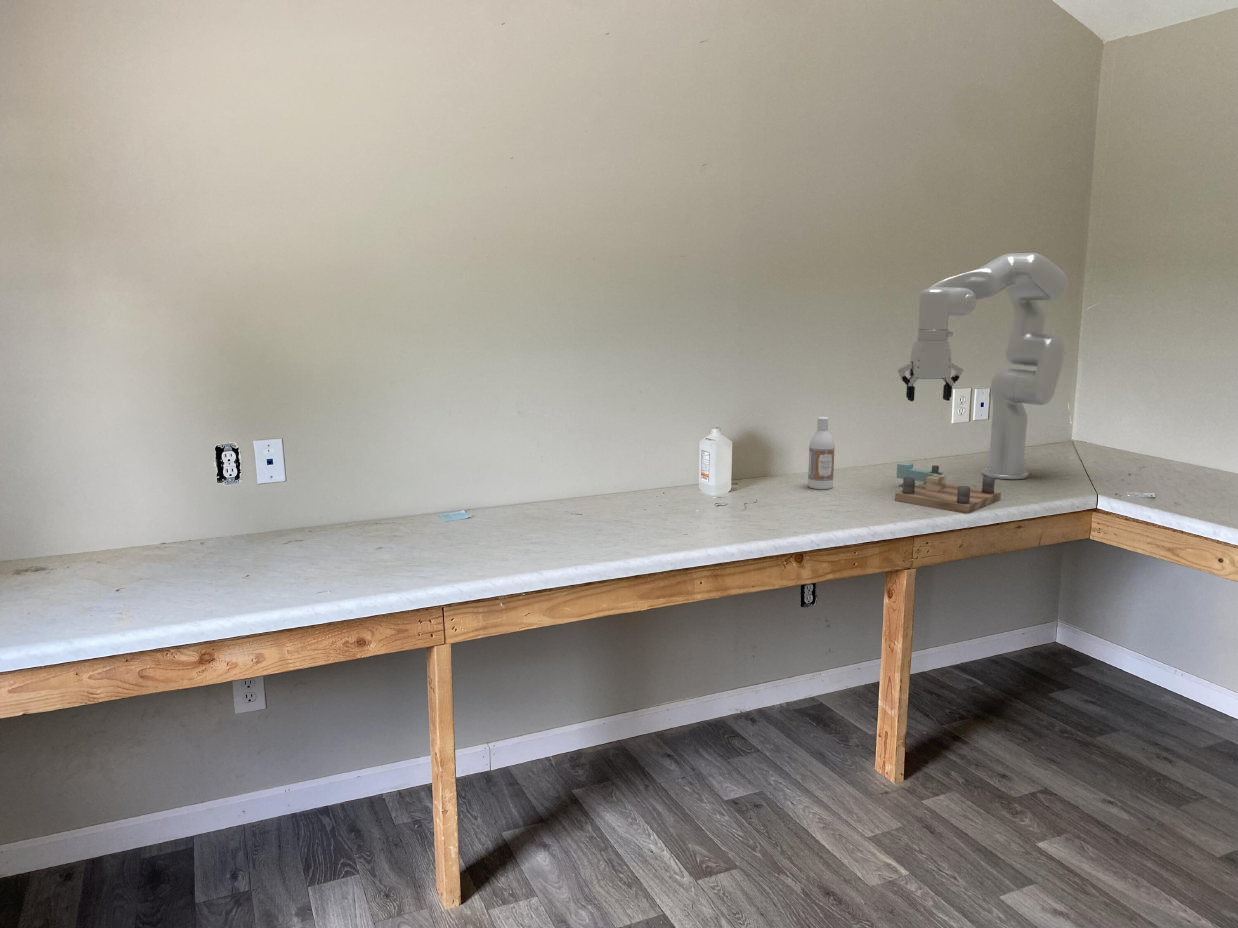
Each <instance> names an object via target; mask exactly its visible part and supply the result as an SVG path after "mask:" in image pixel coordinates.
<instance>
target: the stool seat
mask: <svg viewBox="0 0 1238 928" xmlns="http://www.w3.org/2000/svg"><path fill="white" fill-rule="evenodd" d="M939 470H940V465H933V464H932V465H931V471H932V473H933V474H935V475H932V476H929V477H927V480H926V482H922V483H920V484H917V485H916V481H915V478H912V477H904V478H903V479H902V490H901V491H898V492H895V494H894V501H895V502H902V503H907V504H912V505H918V506H923V507H929V508H934V509H940V510H946V511H949V512H950V511H951V512H952V511H953V512H957V513H961V514H971V513H973V512H975V511H977V510H979V509H982V508H984V507H987V506H988V505H991V504H993V503H996V502H998V501H1000V500H1001V498H1002V491H996V490H995V484H996V483H995V482H996V478H994V477H989V476H986V475H984V476H982V485H981V488H977V487H970V486H967V485H959V484H953V483H946V475H944V474H943V475H938V474H939V472H940V471H939Z"/></svg>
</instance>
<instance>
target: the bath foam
mask: <svg viewBox="0 0 1238 928" xmlns="http://www.w3.org/2000/svg"><path fill="white" fill-rule="evenodd" d="M816 426H817V430H816V431H815V432H814V434H813V435H812V437H811V439H810V442H809V446H808V447H809V448H808V473H807V474H808V475H807V476H808V477H807V486H808V487H809V488H810V489H815V490H830V489H832V488H833V487H834V472H835V471H834V470H835V442H834V438H833V437H832V436H833V435H832V434H830V432H829V430H828V429H829V417H826V416H818V417H817V424H816Z"/></svg>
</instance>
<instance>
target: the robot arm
mask: <svg viewBox="0 0 1238 928" xmlns="http://www.w3.org/2000/svg"><path fill="white" fill-rule="evenodd" d="M1068 287H1069V283H1068V277H1067V275H1066V274H1065V272H1064V271H1063V270H1062V269H1061V268H1060V267H1058V266H1057V265H1056V264H1055V263H1053V262H1052V261H1051V260H1050V259H1048V258H1047V257H1045V256H1044V255H1042V254H1040V253H1036V252H1023V253H1021V252H1020V253H1019V252H1018V253H1015V252H1014V253H1013V252H1012V253H1011V252H1010V253H1006V254H1002V255H1000V256H998V257H996V258H995V259H993V260H992V261H989V262H988V263H986V264H984V265H982V266H981V267H978V268H977V269H973V270H970V271H967V272H964V273H961V274H958V275H954V276H950V277H947V278H945V279H941V280H940V281H937V282H936V283H934V284H932V285H931V286H930V287H928V288H925V289H923V290H922V291H920V295H919V308H918V323H917V324H918V325H917V338H916V340H914V341H913V344H912V347H911V351H910V356H909V357H910V358H909V363H907V364H905V365H904V366H902V367H900V368H898V369H897V373H898V375H899V377H900V380H901V381H902V382H903V383H904V384H905V386H906V391H905V392H906V394H905V396H906V398H907V400H908V401H910V402H914V401H915V395H916V394H915V392H916V391H915V390H916V387H915V386H914V385H915V383H916V382H918V380H943V382H944V383H945V384H943V391H942V400H944V401H947V402H949V401H950V400H951V398H952V393H953V386H954V385H955V383H956V382H957V381H958V380H960V376H962V374H963V372H964V368H961V367H960V366H958V365H957V364H954V363H952V351H951V349H952V348H951V343H950V341H949V338H950V337H953V331H950V329H949V317H964V316H967V315H969V314H971V313H972V312H973V311H974V310H975V308H976V305H977V301H980V300H984V299H988V298H989V299H990V298H991V297H994V296H996V295H997V294H999V293H1000V292H1001V291H1003V290H1005V291H1006V293H1007V296H1008V297H1009V300H1010V302H1011V305H1012V309H1013V313H1014V314H1013V321H1012V326H1011V329H1010V333H1009V337H1008V341H1007V345H1006V348H1005V359H1006V360H1007V362H1008V363H1010V364H1012V365H1015V366H1022V367H1031V368H1032V367H1033V368H1036V370H1027V369H1019V368H1005V369H1001V370H999V371H996V373H994V375H993V376H992V378H991V382H990V391H991V398H992V417H991V418H992V419H991V420H992V421H991V430H990V431H991V432H990V442H989V443H990V444H989V445H990V446H989V456H988V457H989V458H988V467H985V468H984V469H982V474H983V475H984V476H989V477H994V478H995V479H1002V480H1021V479H1022V480H1023V479H1027V478H1028V477H1029V472H1028V471H1027V470H1025V469H1024V465H1025V464H1026V462H1027V461H1026V459H1025V452H1026V451H1025V450H1026V440H1027V439H1026V436H1027V427H1028V426H1027V425H1028V415H1027V411H1026V409H1025V407H1024V404H1025V405H1035V406H1044V405H1046V404H1048V403H1049V402H1051V400H1052V399H1053V397H1054V395H1055V393H1056V389H1057V385H1058V382H1059V378H1060V374H1061V370H1062V368H1063V363H1064V361H1065V360H1064V359H1065V352H1066V351H1065V350H1066V349H1065V344H1064V341H1063V340H1062V338H1061V337H1059V336H1058V335H1056V334H1050V333H1044V329H1045V326H1046V317H1047V316H1046V313H1045V311H1044V308H1043V307H1042V305H1041V304H1040V302H1039V301H1048V302H1049V301H1056V300H1059V299H1061V298H1063V297H1064V296H1065V294H1066V293H1067V290H1068ZM952 370H953V371H954V372H955V373H954V374H953V375H951V374H952ZM906 372H908V376H909V377H907V376H906Z"/></svg>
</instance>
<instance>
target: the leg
mask: <svg viewBox="0 0 1238 928" xmlns="http://www.w3.org/2000/svg"><path fill="white" fill-rule="evenodd" d="M932 475H935V474H933V473H932V470H929V469H928V470H926V469H920V468H914V463H909V462H900V463H899V462H898V463H897V464H896V479H902V480H903V478H904V477H912V478H915V482H920V483H925V482H926V480H927V477H929V476H932ZM938 475H943V476H944V472H943V471H939V474H938Z"/></svg>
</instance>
